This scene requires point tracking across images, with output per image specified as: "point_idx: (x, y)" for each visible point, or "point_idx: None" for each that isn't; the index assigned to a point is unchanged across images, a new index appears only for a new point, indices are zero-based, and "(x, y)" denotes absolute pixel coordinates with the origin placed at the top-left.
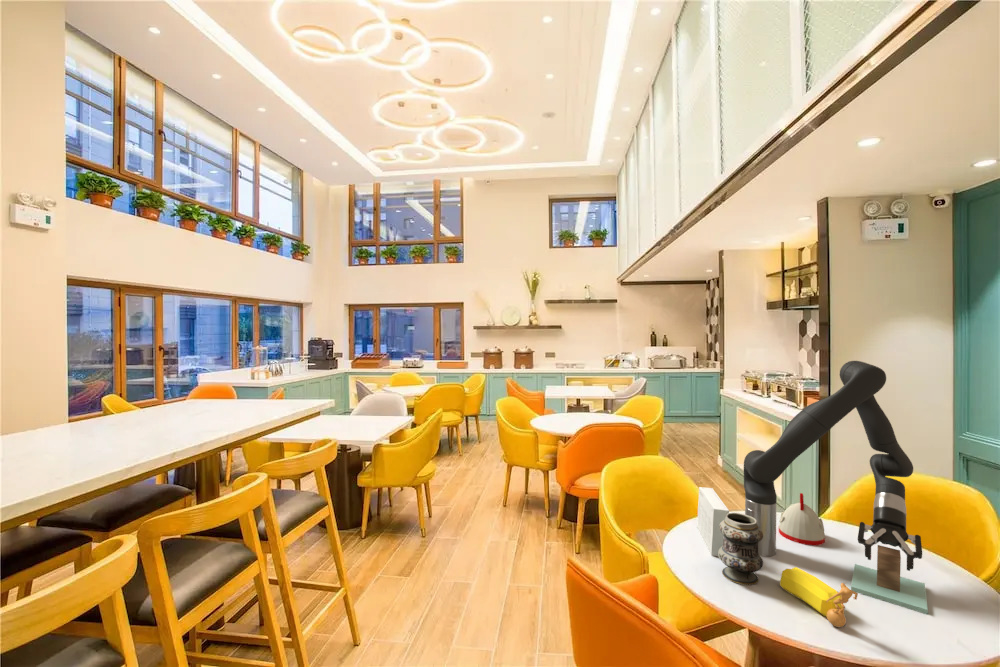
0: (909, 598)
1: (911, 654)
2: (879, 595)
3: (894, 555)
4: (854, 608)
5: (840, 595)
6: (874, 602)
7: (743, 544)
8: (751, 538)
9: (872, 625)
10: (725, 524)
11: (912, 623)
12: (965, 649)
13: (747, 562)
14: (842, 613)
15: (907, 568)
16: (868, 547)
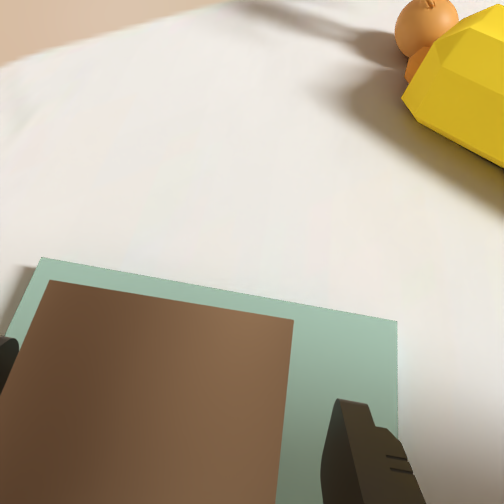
0: None
1: (217, 14)
2: (256, 298)
3: (110, 298)
4: (366, 172)
5: (444, 56)
6: (282, 263)
7: None
8: None
9: (307, 96)
10: None
11: (156, 165)
12: (24, 88)
13: None
14: (416, 4)
15: (14, 348)
16: (388, 475)
